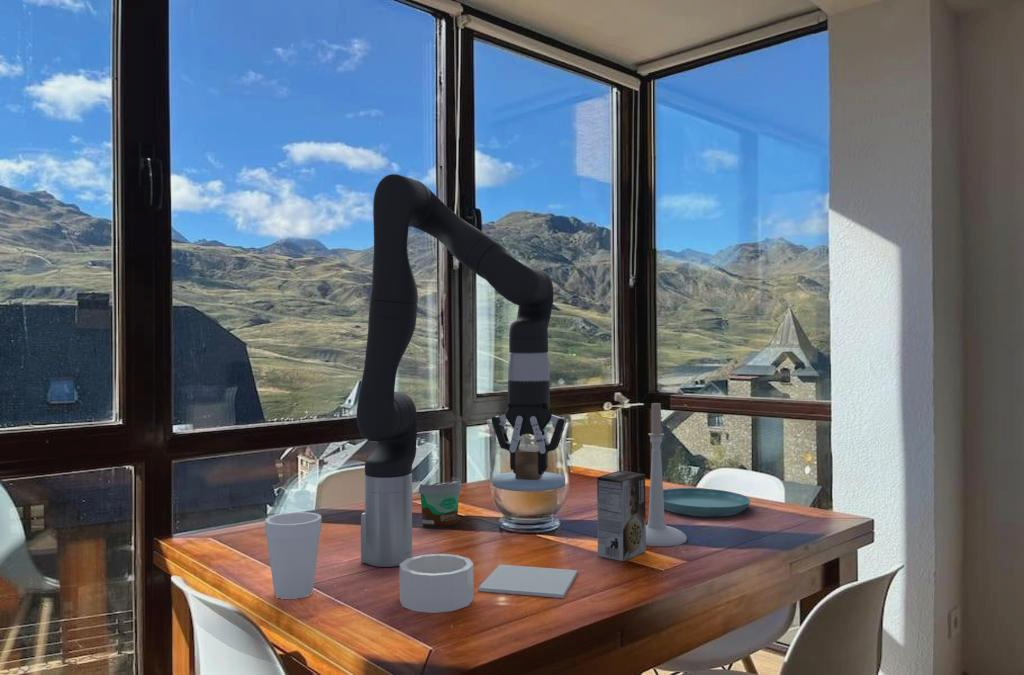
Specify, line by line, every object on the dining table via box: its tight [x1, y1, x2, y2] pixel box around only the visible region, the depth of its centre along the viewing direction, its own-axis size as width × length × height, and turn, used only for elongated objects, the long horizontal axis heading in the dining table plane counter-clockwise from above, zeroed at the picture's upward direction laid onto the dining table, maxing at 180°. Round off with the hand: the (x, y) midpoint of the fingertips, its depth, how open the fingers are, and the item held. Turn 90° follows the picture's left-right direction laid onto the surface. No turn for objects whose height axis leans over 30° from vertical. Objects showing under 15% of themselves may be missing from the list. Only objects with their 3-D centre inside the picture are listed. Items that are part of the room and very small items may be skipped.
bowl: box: [399, 553, 475, 614], centre depth 130 cm, size 12×12×6 cm
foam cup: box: [264, 511, 322, 600], centre depth 133 cm, size 10×9×13 cm
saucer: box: [663, 487, 751, 518], centre depth 199 cm, size 24×24×3 cm
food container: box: [418, 476, 463, 529], centre depth 182 cm, size 12×6×10 cm, turn 143°
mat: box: [478, 564, 578, 599], centre depth 139 cm, size 15×14×1 cm
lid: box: [492, 447, 566, 492], centre depth 139 cm, size 13×13×6 cm
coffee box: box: [596, 470, 647, 562], centre depth 157 cm, size 9×6×16 cm
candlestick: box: [646, 402, 688, 547], centre depth 169 cm, size 13×13×30 cm
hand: (529, 472), depth 139 cm, fingers closed on lid, 4 cm apart
